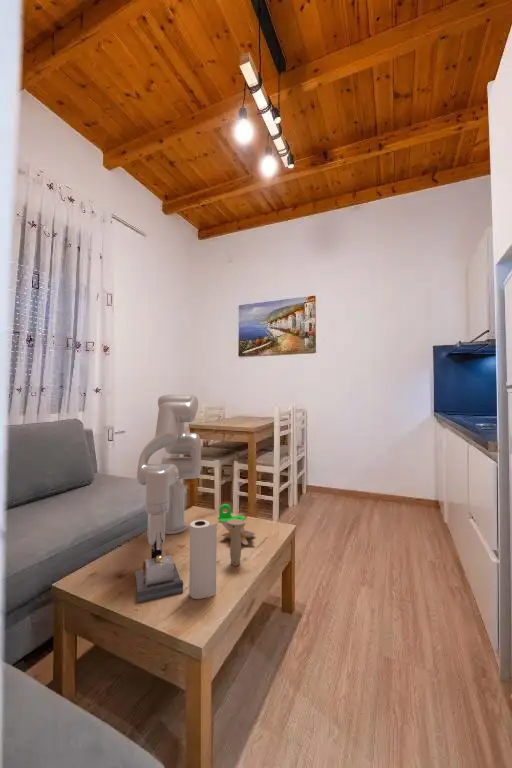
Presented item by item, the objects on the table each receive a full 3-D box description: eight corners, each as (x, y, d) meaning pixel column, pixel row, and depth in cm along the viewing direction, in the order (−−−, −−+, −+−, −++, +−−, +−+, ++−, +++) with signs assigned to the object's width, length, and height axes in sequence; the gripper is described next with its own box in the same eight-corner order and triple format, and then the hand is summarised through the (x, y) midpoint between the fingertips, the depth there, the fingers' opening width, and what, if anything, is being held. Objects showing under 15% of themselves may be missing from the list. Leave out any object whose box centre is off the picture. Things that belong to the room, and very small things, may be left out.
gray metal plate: (135, 575, 109) (135, 566, 109) (174, 567, 114) (174, 558, 114) (138, 602, 95) (138, 592, 95) (183, 592, 100) (183, 582, 100)
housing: (145, 582, 103) (145, 555, 103) (171, 576, 106) (171, 550, 106) (146, 591, 98) (147, 562, 98) (173, 585, 101) (173, 557, 101)
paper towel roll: (185, 594, 99) (185, 523, 99) (199, 585, 104) (200, 517, 104) (201, 604, 94) (202, 529, 95) (216, 594, 99) (216, 523, 100)
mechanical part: (219, 525, 152) (219, 508, 152) (219, 520, 158) (219, 504, 158) (244, 524, 153) (244, 507, 153) (244, 519, 159) (244, 503, 159)
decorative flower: (263, 540, 136) (263, 516, 136) (249, 551, 126) (249, 525, 126) (232, 532, 143) (233, 510, 144) (217, 543, 133) (218, 518, 134)
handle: (229, 559, 120) (229, 518, 121) (246, 562, 118) (246, 520, 119) (224, 566, 115) (225, 523, 116) (241, 568, 114) (242, 525, 114)
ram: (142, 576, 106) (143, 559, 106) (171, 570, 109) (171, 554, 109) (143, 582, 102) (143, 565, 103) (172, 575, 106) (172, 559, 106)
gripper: (143, 500, 115) (143, 553, 115) (147, 515, 102) (146, 575, 101) (165, 498, 118) (164, 549, 118) (172, 512, 105) (171, 570, 104)
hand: (156, 561), depth 109 cm, fingers closed
